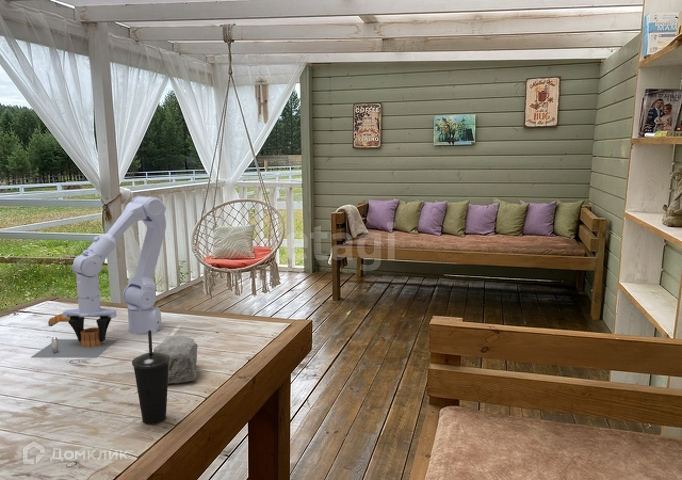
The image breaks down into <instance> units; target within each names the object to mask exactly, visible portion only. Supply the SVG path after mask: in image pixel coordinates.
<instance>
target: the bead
mask: <svg viewBox="0 0 682 480" xmlns="http://www.w3.org/2000/svg"><path fill="white" fill-rule="evenodd" d="M102 343H103V342H100V340H99V329H98V326H96V327H95V326H93V327H87V328H84V330H82V331H81V345H82V346H83V347H94V346H98V345H100V344H102Z"/></svg>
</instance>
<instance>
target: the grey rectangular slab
mask: <svg viewBox="0 0 682 480" xmlns="http://www.w3.org/2000/svg"><path fill="white" fill-rule="evenodd" d="M57 339H58V350H59V352H58V353H55V354H54V353H52V342H51V343H49V344H48V345H46V346H44V347H43V348H42V349H40V350H39V351H38V352H36V353H35V354H32V356H30V358H31V359H33V358H35V359H36V358H41V359H42V358H47V359H48V358H57V359H58V358H63V359H64V358H67V359H68V358H73V359H74V358H79V359H80V358H84V359H85V358H88V359H89V358H96V359H97V358H98V357H100V355H102V354H103V353H104V352H105V351H106V350H107V349H108V348H110V347H111V346H112V345H113V344H114V343H115V342H117V341H118V339H117V338H116V339H110V338H108V339H107V338H105V340H104V341H103V343H102V344H100V345H98V346H94V347H83V346H82V345H81V342H79V341H78V338H77V339H71V338H70V339H69V338H65V339H64V338H61V339H60V338H57Z"/></svg>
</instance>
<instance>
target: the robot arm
mask: <svg viewBox="0 0 682 480" xmlns="http://www.w3.org/2000/svg"><path fill="white" fill-rule="evenodd" d="M166 209H167V208H166V206H165V204H164V202H163V201H162V200H161V199H160V198H159V197H156V196H155V197H154V196H153V197H149V196H143V195H136V196H134V197H133V198H132V199H131V201H130V202H128V203H127V204H126V206H125V209H124V211H122V212H121V214H120V215H119V217H118V218H117V219H116V221H115V222H114V223H113V224H112V226H111V227H110V228H109V230H108V231H107V232H106V233H101V234H99V235H98V236H97V235H96V236H95V237H93V241H92V243H91V244H90V245H89V246H88V247H87V248H86V249H84V250H83V251H82V254H81V255H77V256H76V257H75V258H74V260H73V263H72V264H71V269H72V272H74V273H75V277H76V278H75V279H76V290H77V305H78V308H73V309H69V308H68V309H65V310H63V312H62V313H63V316H64V318H68V317H70V320H68V322H67V323H68V324H69V325H70V327H71V328H72V330H73V331H74V333H75V336H76V338H77V339H78V341H79V342H81V331H82V330H84V329H85V318H97V319H96V320H95V321H96V324H97V325H96V326H97V327H98V329H99V340H100V342H103V341H104V340H105V339H106V336H107V331H108V329H109V328H108V327H109V325H110V323H111V321H112V319H115V318H116V317H117V309H111V308H110V309H109V308H104V307H103V308H102V307H101V295H100V294H101V293H100V283H99V280H100V279H99V273H101V271H102V269H103V264H104V261H106V260H107V258H108V257H109V256H110V255H111V253H112V252H114V250H115V249H116V248H117V246H118V245H117V240H118V239H119V238H121V236H122V235H123V234H124V233H125V232H126V231H127V230H128V229H129V228H130V227H132V225H133V224H134V223H135V222H139V221H142V222H143V223H144V225H145V226H146V231H145V236H144V239H143V243H142V248H141V251H140V255H139V258H138V262H137V267H136V270H135V272H134V273H135V274H134V276H133V277H131V278H130V279H129V280H128V283H127V286H126V287H125V288H124V290H123V292H122V298H123V302H125V303H126V305H127V316H128V317H127V319H128V332H129V333H130V334H133V335H141V334H142V335H143V334H144V335H145V334H148V331H149V330H151V333H152V334H156V333H157V332H159V331H160V330H161V329H162V312H161V311H162V310H161V309H160V308H159V307H154V304H155V303H156V300H157V294H156V288H157V285H156V283H155V282H154V276H155V271H156V268H157V266H158V265H157V264H158V262H159V261H158V260H159V256H160V252H161V248H162V245H163V240H164V237H165V234H166V229H167V221H166V216H165V213H166Z"/></svg>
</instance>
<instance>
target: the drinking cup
mask: <svg viewBox="0 0 682 480" xmlns="http://www.w3.org/2000/svg"><path fill="white" fill-rule="evenodd" d="M152 334H153V333H151V330H149V331H148V333H147V336H148V337H147V338H148V340H147V341H148V352H146V353H143V354H141V355H139V356H136V357H135V358H133V359H132V361H131V365H132V366H133V371H134V376H135V382H136V389H137V395H138V401H139V408H140V413H141V420H142V423H144V424H146V425H150V426H151V425H157V424H160V423H162V422H164V421H165V420H166V419H167V407H168V403H167V402H168V389H169V388H168V386H169V384H168V368H169V361H170V356H169V355H167V354H164V353H159V352H153V335H152Z"/></svg>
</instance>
